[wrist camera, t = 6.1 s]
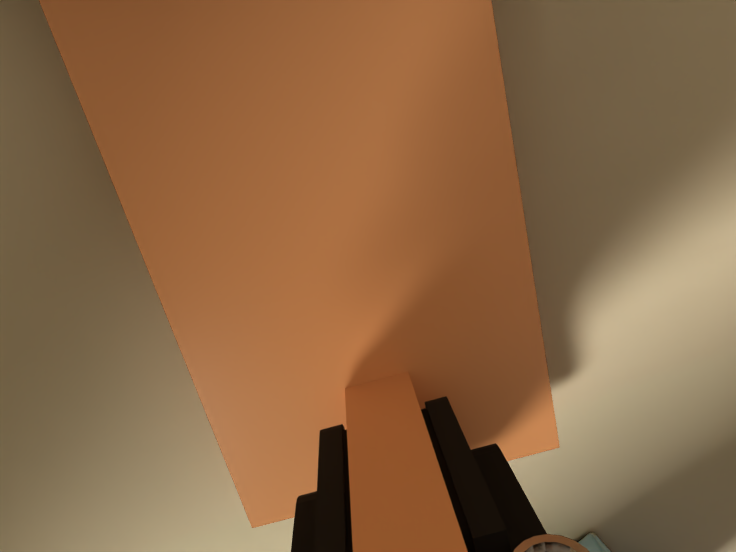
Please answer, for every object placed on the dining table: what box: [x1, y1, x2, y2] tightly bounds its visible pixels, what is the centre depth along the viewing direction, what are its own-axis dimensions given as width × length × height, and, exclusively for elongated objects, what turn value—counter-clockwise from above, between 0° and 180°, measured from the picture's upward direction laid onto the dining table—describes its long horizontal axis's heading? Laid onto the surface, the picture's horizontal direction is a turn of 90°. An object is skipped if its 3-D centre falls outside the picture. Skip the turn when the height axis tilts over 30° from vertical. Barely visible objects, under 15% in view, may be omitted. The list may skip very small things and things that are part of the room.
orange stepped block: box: [39, 0, 559, 552], centre depth 7 cm, size 16×8×8 cm, turn 14°
